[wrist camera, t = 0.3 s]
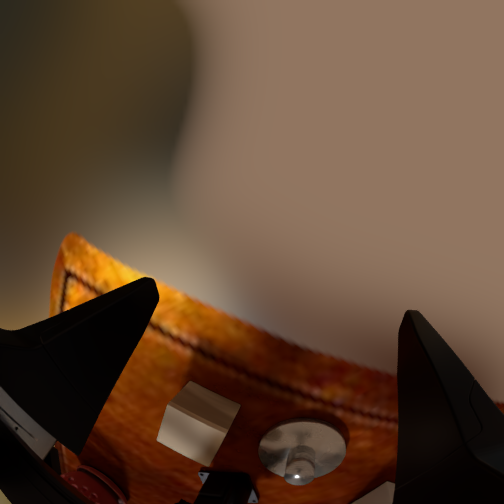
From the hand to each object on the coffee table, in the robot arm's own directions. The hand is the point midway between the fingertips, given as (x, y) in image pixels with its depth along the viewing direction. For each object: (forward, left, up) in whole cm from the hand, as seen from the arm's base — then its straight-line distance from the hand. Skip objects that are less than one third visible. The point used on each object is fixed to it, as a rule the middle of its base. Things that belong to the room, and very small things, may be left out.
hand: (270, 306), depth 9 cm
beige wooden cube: (-13, +11, -14) cm, 22 cm away
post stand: (-19, +2, -14) cm, 24 cm away
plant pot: (-34, +40, -14) cm, 54 cm away
